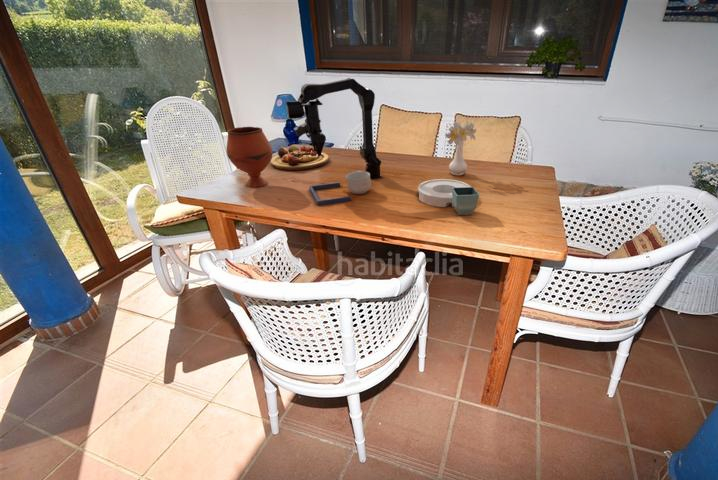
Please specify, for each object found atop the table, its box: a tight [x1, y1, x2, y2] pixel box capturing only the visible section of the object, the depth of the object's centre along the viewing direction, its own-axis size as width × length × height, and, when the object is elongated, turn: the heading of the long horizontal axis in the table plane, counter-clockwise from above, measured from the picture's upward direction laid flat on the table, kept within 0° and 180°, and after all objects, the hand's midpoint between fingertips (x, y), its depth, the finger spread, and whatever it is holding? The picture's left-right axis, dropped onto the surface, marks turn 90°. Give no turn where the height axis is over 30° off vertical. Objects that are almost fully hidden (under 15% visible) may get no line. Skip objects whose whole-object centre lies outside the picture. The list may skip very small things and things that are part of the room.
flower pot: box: [452, 186, 480, 216], centre depth 138 cm, size 9×9×9 cm
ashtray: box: [417, 178, 472, 208], centre depth 154 cm, size 23×23×4 cm
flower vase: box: [444, 119, 477, 176], centre depth 174 cm, size 13×18×25 cm
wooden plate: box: [269, 144, 330, 171], centre depth 197 cm, size 32×32×8 cm
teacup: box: [345, 170, 372, 195], centre depth 159 cm, size 14×11×8 cm
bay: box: [308, 181, 352, 206], centre depth 157 cm, size 14×20×2 cm
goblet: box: [226, 126, 273, 188], centre depth 163 cm, size 19×19×25 cm
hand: (317, 153), depth 162 cm, fingers open, 9 cm apart
